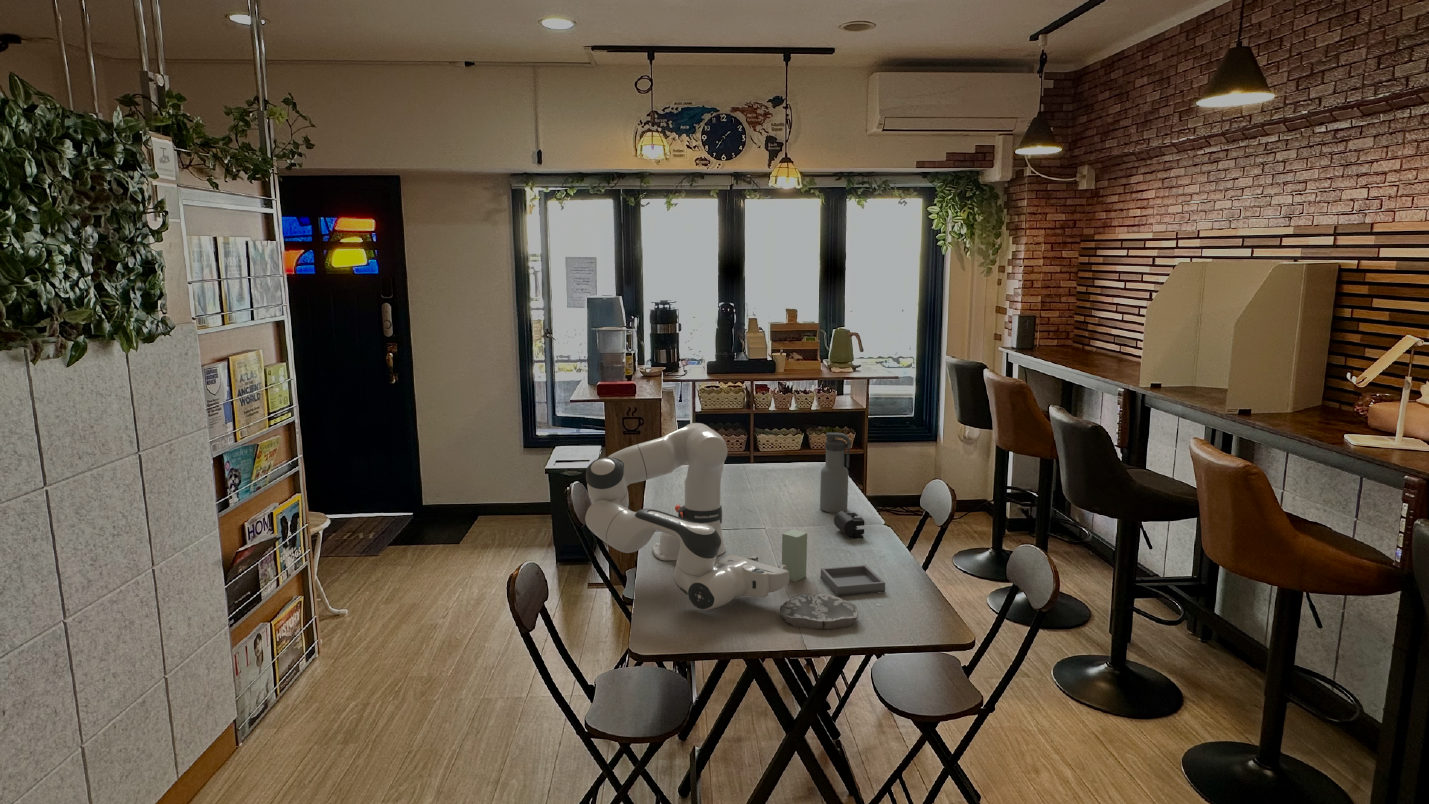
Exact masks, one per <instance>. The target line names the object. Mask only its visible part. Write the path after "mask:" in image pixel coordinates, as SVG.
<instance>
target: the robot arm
mask: <svg viewBox="0 0 1429 804" xmlns="http://www.w3.org/2000/svg"><path fill="white" fill-rule="evenodd" d="M728 451H729V450H728V446H727V443H726V441H725V439H724V437H723V436H722V435H721V434H720V433H718V432H717V431H715V430H714V429H713V428H711V427H710V426H708V425H707V424H704V423H701V422H692V423H688V424H686V425H684V427H682V428H679V429H677V430H675V431H673V432H670V433H668V434H665V435H664V436H661V437H658V438H655V439H652V440H651V439H650V440H648V441H644V442H640V443H637V444H634V445H631V446H630V445H629V446H628V447H624V448H622V449H620V450H618V451H616V452H613V453H612V454H609V455H608V456H604V457H598V458H597V459H595V460H593V461H592V462H591V463H590V464H589V465H588V466H587V468H586V472H585V480H586V481H585V482H586V484H587V485H586V487H587V493H588V494H587V495H588V497H589V500H590V502H591V505H590V506H589V507H588V509H587V511H586V512H585V513H586V514H585V524H586V526H587V528H588V530H590V531H591V533H592V534H594V535H595V536H597V538H599V539H600V540H601V541H602V542H604V543H606V544H607V545H609V546H610V547H612V548H614V550H616V551H618V552H621V553H626V554H629V553H635V552H637V551H640V550H641V549H642V548H644V547H645V546H646V545H647V544H648V543H649V542H650V540H651V539H652V537H653V535H654V534H655V532H657V531H658V532H661V533H660V537H659V542H655V543H654V544H653V546H652V553H653V555H654V557H656V558H657V559H658V560H661V561H676V564H675V569H674V574H673V581H674V583H675V584H676V587H678V589H679V590H681V591H682V592H683V594H686V596H688V600H689V602H690V603H691V605H692V606H694V607H695V608H697V609H699V610H704V611H705V610H706V611H707V610H713V609H717V608H720V607H722V606H724V605H726V604H728V603H730V602H731V601H732V600H733V599H737V598H740V597H757V598H767V597H768V596H769V593H774V592H777V591H780V590H781V589H783V588H785V587H787V586H788V585H789V583H790V580H789V571H788V570H786V569H787V566H786V565H783V564H782V563H780V564H778V567H777V566H774V565H770V564H767V563H763V562H759V557H757V556H755V555H752V556H749V557H743V556H740V555H736V554H728V555H725V556H724V557H722V558H721V559H719V560H718V561H717V563H716V560H717V557H718V556H721V555H722V554H724V553H725V552H726V545H725V543H724V537H723V531H722V523H723V522H722V521H723V507H722V505H721V499H722V498H721V497H722V496H721V494H722V493H721V487H722V485H721V484H722V475H723V473H724V471H723V470H724V466H725V461H726V459H727V457H728ZM686 464H688V466H687V467H688V469H687V474H686V477H685V480H684V505H682V506H681V505H680V504H676V505H675V506H674V510H675V512H676V513H677V516H676V515H674V514H670V513H667V512H665V511H661V510H657V509H653V508H641V509H638V510H637V511H634V510H633V511H632V510H631V505H630V501H629V490H628V486H630V485H631V484H635V483H640V482H643V481H644V482H645V481H647V480H650V479H655V478H659V477H662V476H665V475H668V474H671V473H674V471H675V470H676V469H678V468H681V467H682V466H685V465H686Z"/></svg>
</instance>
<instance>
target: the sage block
mask: <svg viewBox="0 0 1429 804" xmlns="http://www.w3.org/2000/svg"><path fill="white" fill-rule="evenodd" d="M781 535H782V538H781V539H782V540H781V541H782V542H781V564H783V565H786V566H787V569H786V570H788V571H789V581H792V580H793V581H792V582H795V583H797V582H799V581H801V580H803V579H804V577H805V578H806V577H807V558H808V557H807V556H808V555H807V554H808V553H807V552H808V533H807V532H804V531H800V530H797V529H793V528H792V529H791V530H788V531H786V532H782V534H781ZM798 580H799V581H798Z"/></svg>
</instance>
